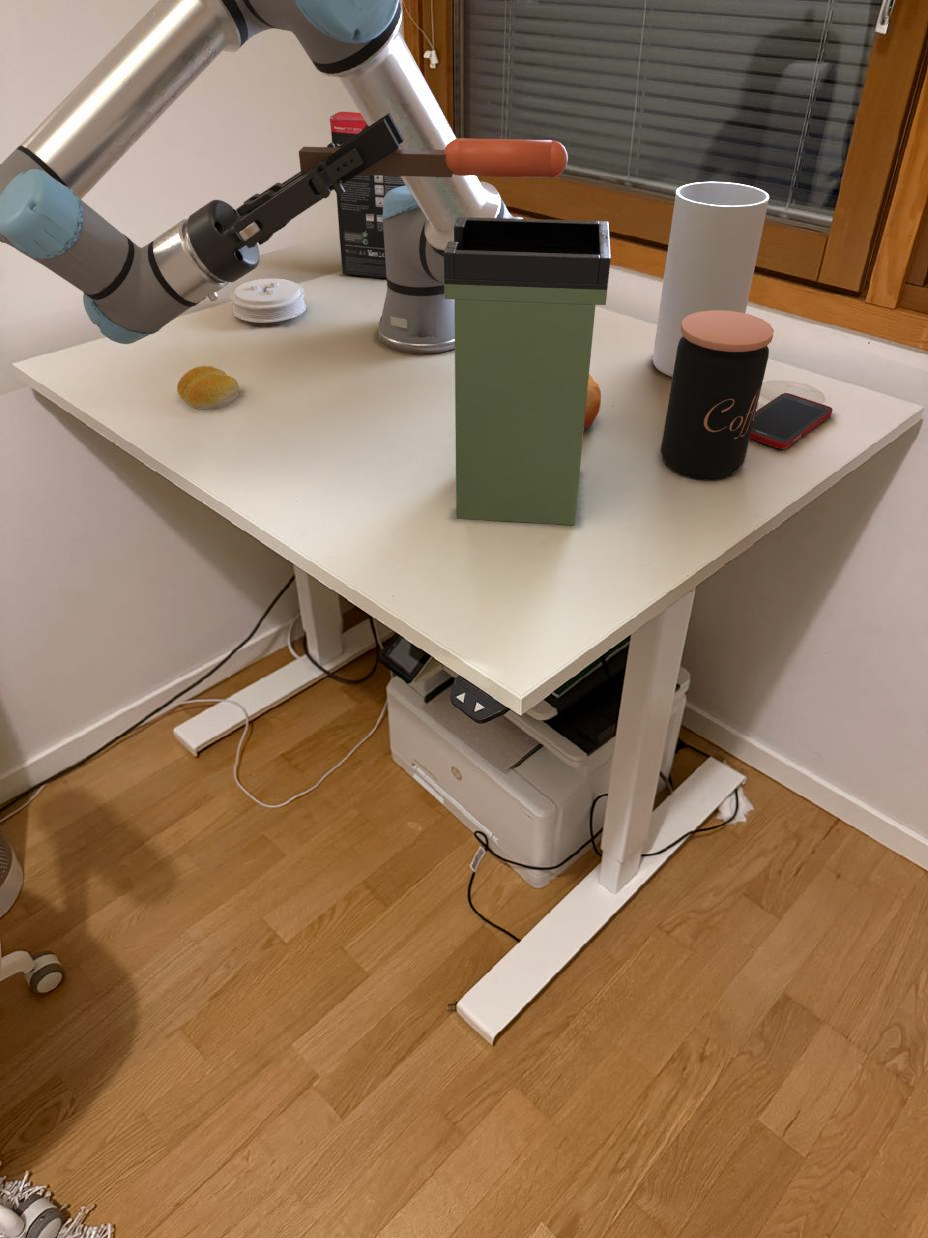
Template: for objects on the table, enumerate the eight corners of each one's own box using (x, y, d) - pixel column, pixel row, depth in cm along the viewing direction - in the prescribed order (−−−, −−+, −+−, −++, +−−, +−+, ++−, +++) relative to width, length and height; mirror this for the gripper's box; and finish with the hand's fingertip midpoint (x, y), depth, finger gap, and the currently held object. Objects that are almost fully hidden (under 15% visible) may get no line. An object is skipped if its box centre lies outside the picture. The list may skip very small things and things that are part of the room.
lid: (225, 308, 156) (220, 279, 153) (293, 296, 160) (289, 268, 157) (245, 333, 147) (240, 303, 144) (316, 320, 152) (313, 290, 149)
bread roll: (200, 416, 124) (195, 390, 122) (171, 395, 130) (165, 369, 127) (252, 399, 128) (247, 373, 126) (221, 379, 134) (217, 354, 131)
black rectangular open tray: (444, 283, 87) (443, 252, 85) (457, 245, 96) (457, 216, 94) (607, 289, 85) (610, 258, 84) (605, 250, 95) (608, 221, 93)
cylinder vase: (700, 391, 130) (733, 211, 114) (635, 364, 138) (657, 192, 122) (749, 367, 137) (787, 194, 121) (685, 343, 144) (712, 177, 128)
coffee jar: (694, 491, 109) (721, 351, 97) (642, 453, 116) (662, 318, 105) (760, 470, 113) (794, 334, 101) (706, 435, 120) (732, 303, 108)
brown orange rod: (299, 175, 86) (295, 138, 84) (307, 167, 88) (303, 131, 86) (566, 181, 84) (568, 144, 82) (566, 173, 86) (569, 137, 84)
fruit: (608, 399, 125) (606, 364, 118) (595, 446, 123) (593, 414, 115) (553, 390, 127) (548, 356, 120) (539, 437, 125) (533, 405, 117)
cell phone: (833, 414, 124) (835, 407, 124) (783, 451, 116) (785, 445, 116) (783, 397, 128) (784, 391, 128) (731, 432, 120) (733, 426, 120)
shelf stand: (447, 518, 104) (444, 283, 87) (458, 466, 114) (457, 245, 96) (583, 526, 103) (607, 289, 85) (583, 473, 112) (605, 250, 95)
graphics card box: (436, 272, 170) (433, 112, 153) (427, 284, 165) (422, 120, 148) (352, 265, 173) (340, 108, 156) (340, 277, 168) (326, 115, 151)
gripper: (252, 259, 101) (425, 149, 92) (209, 308, 89) (402, 188, 80) (209, 197, 97) (386, 76, 88) (159, 240, 85) (356, 106, 76)
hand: (393, 130), depth 84 cm, fingers closed on brown orange rod, 2 cm apart
